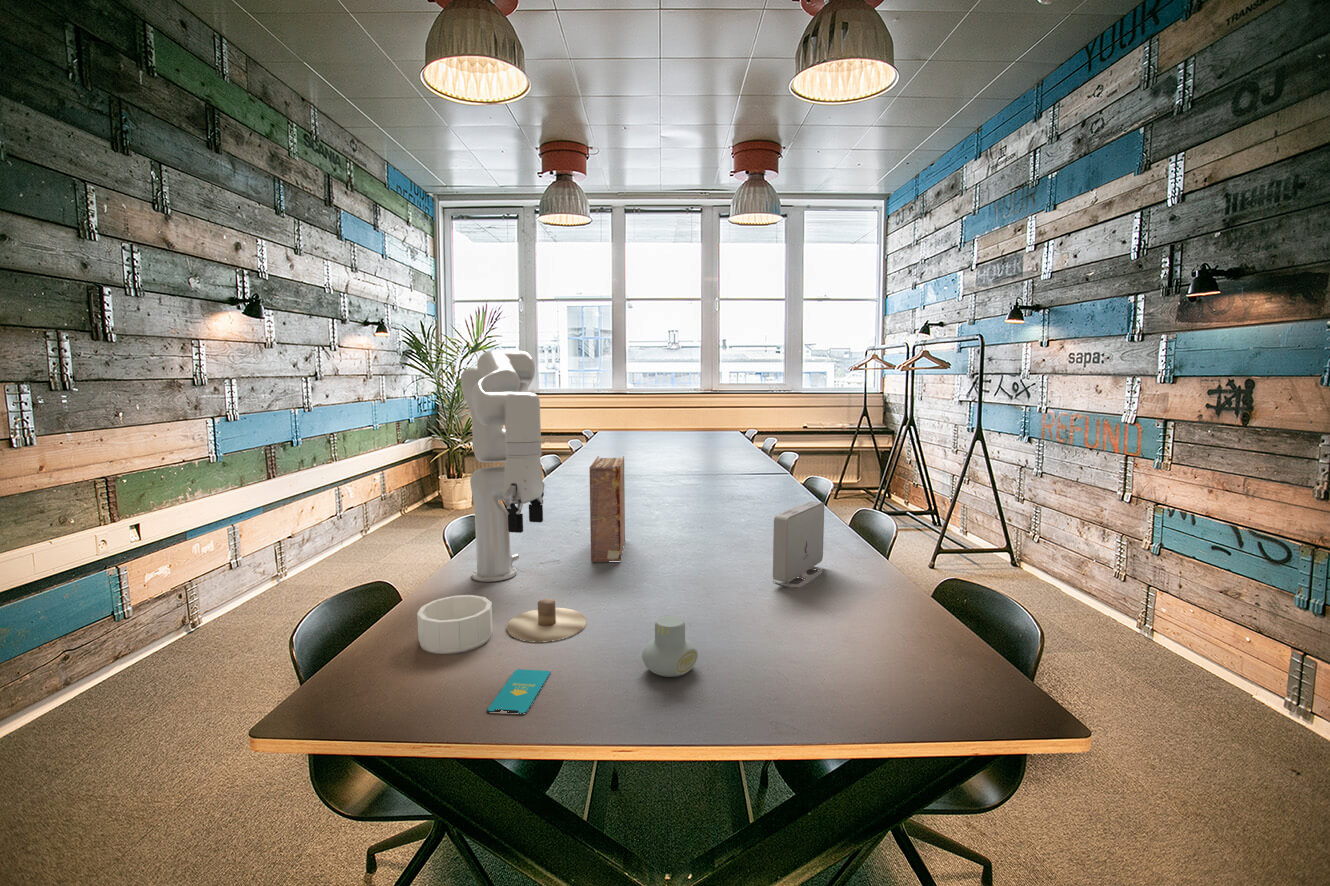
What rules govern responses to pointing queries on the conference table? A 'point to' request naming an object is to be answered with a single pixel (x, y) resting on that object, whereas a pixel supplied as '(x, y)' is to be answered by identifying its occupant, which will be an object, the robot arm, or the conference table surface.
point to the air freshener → (669, 649)
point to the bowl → (455, 624)
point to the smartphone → (519, 691)
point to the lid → (546, 623)
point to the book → (607, 509)
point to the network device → (798, 543)
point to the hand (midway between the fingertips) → (526, 526)
